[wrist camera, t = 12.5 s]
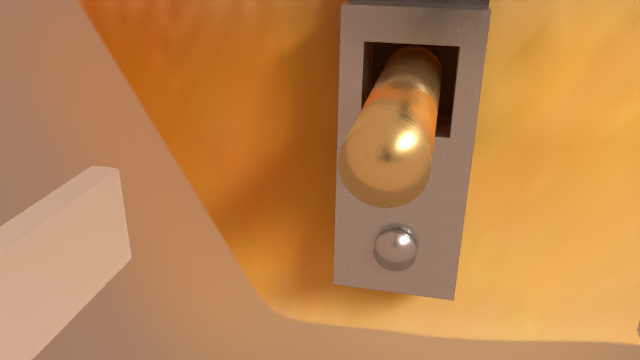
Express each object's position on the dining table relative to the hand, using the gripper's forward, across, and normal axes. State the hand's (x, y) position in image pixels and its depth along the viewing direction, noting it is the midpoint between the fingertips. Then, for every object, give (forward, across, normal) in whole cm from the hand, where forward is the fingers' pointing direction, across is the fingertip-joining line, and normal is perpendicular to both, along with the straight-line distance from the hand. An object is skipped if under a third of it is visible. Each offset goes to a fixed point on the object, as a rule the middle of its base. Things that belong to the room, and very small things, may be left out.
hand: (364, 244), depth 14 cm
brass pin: (+20, 0, -1) cm, 20 cm away
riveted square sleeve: (+20, 0, -1) cm, 20 cm away
